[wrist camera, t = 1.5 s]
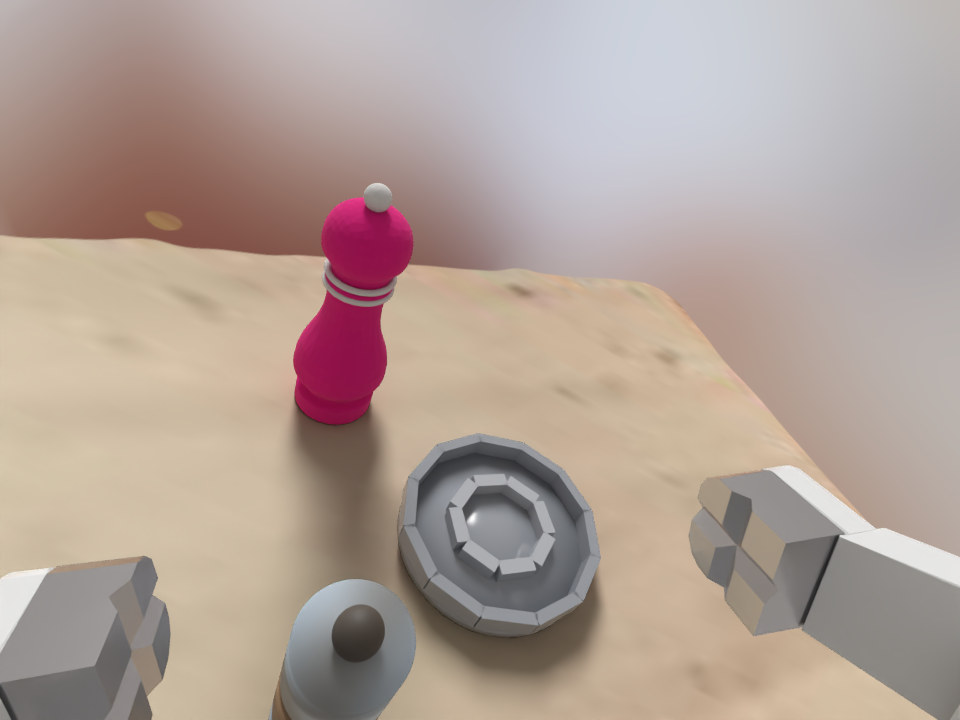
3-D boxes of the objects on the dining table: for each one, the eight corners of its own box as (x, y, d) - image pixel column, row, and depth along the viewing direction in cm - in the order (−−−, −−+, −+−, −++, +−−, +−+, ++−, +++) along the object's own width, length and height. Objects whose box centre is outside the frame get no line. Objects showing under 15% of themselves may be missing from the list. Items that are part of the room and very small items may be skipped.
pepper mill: (390, 416, 48) (458, 215, 35) (310, 441, 43) (354, 222, 30) (352, 358, 51) (401, 155, 38) (274, 376, 46) (300, 154, 34)
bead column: (240, 762, 28) (263, 637, 17) (301, 683, 32) (353, 536, 20) (307, 821, 28) (375, 730, 16) (362, 734, 31) (450, 609, 20)
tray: (354, 548, 38) (361, 529, 37) (461, 425, 49) (470, 406, 48) (538, 686, 36) (554, 673, 34) (606, 523, 47) (621, 507, 45)
